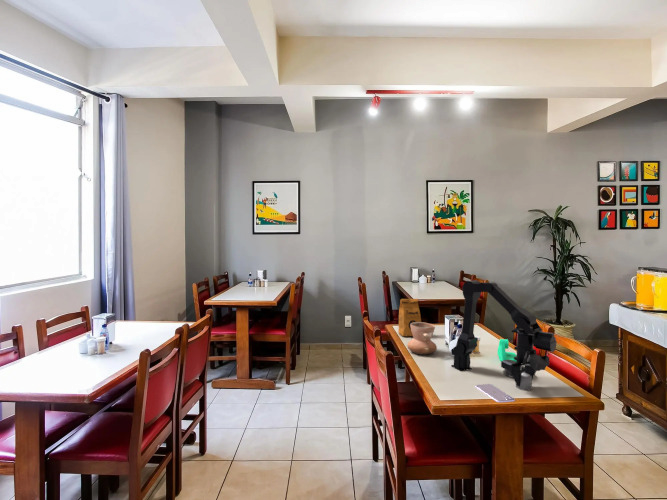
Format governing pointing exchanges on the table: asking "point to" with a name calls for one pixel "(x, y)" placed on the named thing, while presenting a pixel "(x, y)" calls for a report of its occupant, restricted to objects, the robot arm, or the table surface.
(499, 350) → the camera mount
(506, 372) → the dark grey ashtray
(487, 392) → the mobile phone
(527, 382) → the cap
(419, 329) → the ceramic jug
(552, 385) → the table surface
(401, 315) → the coffee package
